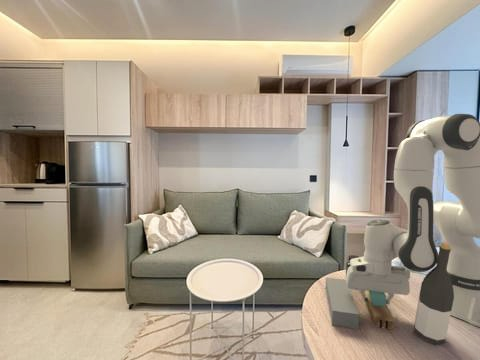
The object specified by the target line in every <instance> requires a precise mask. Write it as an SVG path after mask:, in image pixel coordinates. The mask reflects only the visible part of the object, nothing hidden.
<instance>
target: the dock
mask: <svg viewBox="0 0 480 360" xmlns="http://www.w3.org/2000/svg"><path fill="white" fill-rule="evenodd" d="M325 293H326V298H327V305H328V310H329V314H330V321H331V326H336V327H341V328H350V329H357V330H358V329H359V323H360V322H359V320H360V314H359V311H358V308H357V305H356V303H355V299H354V297H353V294H352V292H351V289H349V288H348V287H347V285H346V279H341V278H335V277H325Z"/></svg>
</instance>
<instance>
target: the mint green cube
mask: <svg viewBox="0 0 480 360" xmlns="http://www.w3.org/2000/svg"><path fill="white" fill-rule="evenodd" d="M386 297H387V295H386V293H384V292H376V291H370V300H371V302H372V304H373V305H376V306H384V307H386V305H387V304H386Z"/></svg>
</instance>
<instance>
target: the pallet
mask: <svg viewBox="0 0 480 360" xmlns="http://www.w3.org/2000/svg"><path fill="white" fill-rule="evenodd" d="M364 295H367V297H368V302H365V301H363V302H364V304H365V307H366V309H367V311H368V315H369V316H370V319H371V323H372V324H373V327H377V328H380V327H381V328H384V329H386V328H387V329H388V330H389V329H391V330H394V328H395V327H394V326H395V325H394V323H395V318H394V316H393V313H392V312H391V310H390V308H389V307H388V304H386V307H384V306H376V305H373V304H372V302H371V300H370V297H369V291H366V290H365V293H364ZM361 298H363V296H362V295H361Z"/></svg>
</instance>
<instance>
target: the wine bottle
mask: <svg viewBox="0 0 480 360" xmlns="http://www.w3.org/2000/svg"><path fill="white" fill-rule="evenodd" d="M438 249H439V250H438V260H437V264H436V265H435V266H434V267H433V268H432V269H430V270H429V272H428V273H426V275H425V277H424V278H423V280H422V282H421V286H420V290H419V295H418V302H417V306H416V307H417V308H416V312H415V313H416V314H415V320H414V324H413V325H414V333H415V334H416V335H417V336H418V337H420V338H421V339H422V340H423V341H424V342H428V343H431V344H433V345H442V344H445V342H446V338H447V334H448V329H449V323H450V318H451V316H452V315H451V310H452V305H453V300H454V290H453V286H452V282H451V279H450V277H449V274H448V272H447V264H448V259H449V254H450V251H451V249H450V244H449V243H446V242H444V241H443V242H441V243H440V246H439V247H438Z"/></svg>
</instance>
